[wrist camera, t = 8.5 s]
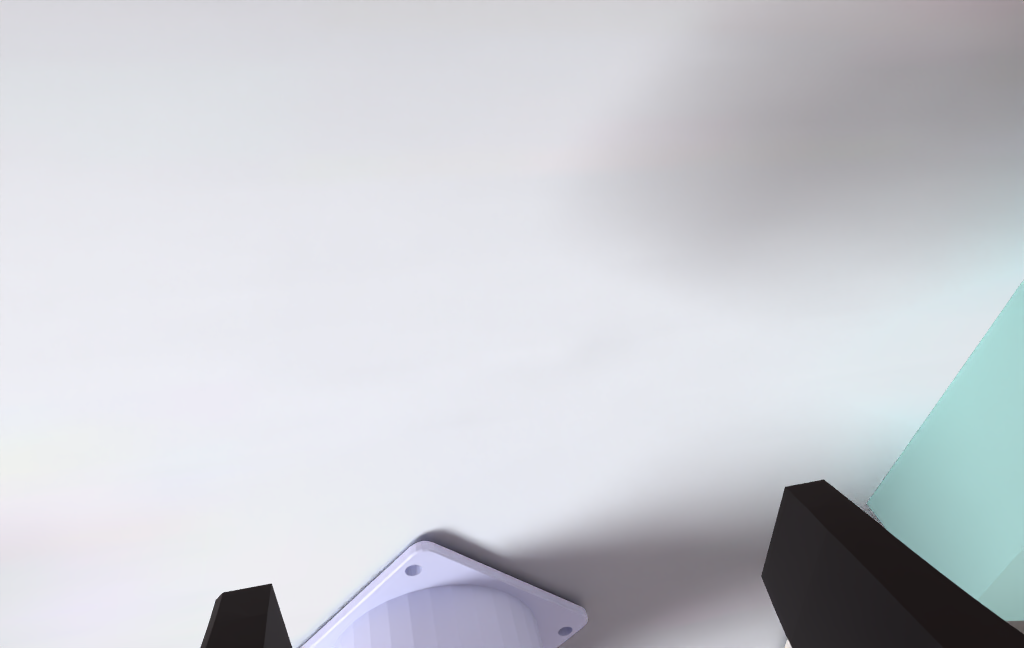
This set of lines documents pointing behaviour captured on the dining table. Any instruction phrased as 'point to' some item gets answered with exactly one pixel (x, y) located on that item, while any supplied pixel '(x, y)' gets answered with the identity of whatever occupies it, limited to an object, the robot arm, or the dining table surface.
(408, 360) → the dining table surface
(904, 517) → the mint green rectangular block
